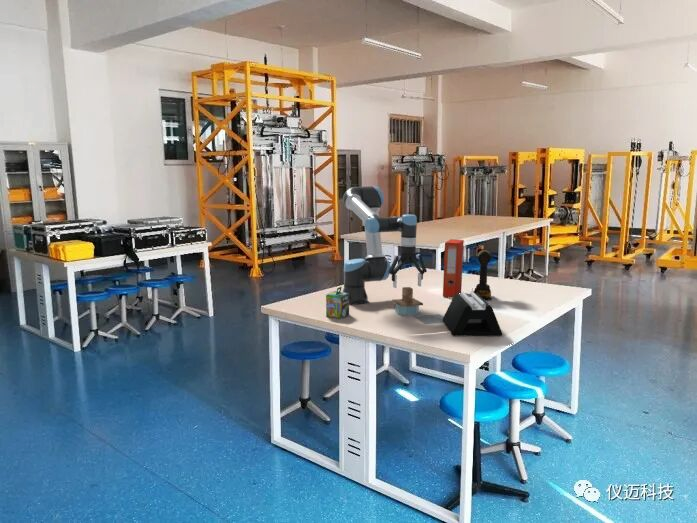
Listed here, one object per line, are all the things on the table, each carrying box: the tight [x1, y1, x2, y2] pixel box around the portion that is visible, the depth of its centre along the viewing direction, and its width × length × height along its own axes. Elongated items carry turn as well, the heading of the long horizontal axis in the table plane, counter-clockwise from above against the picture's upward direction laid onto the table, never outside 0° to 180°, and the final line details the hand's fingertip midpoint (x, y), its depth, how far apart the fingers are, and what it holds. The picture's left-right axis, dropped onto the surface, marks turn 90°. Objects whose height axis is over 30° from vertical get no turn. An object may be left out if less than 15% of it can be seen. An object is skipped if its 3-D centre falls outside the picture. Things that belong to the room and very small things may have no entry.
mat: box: [411, 313, 445, 325], centre depth 278 cm, size 15×15×1 cm
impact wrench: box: [472, 249, 492, 300], centre depth 328 cm, size 14×21×28 cm, turn 165°
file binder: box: [442, 238, 465, 298], centre depth 332 cm, size 8×17×32 cm, turn 159°
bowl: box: [395, 304, 420, 316], centre depth 289 cm, size 11×11×6 cm
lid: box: [391, 286, 424, 307], centre depth 288 cm, size 12×12×8 cm
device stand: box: [442, 290, 503, 337], centre depth 260 cm, size 22×22×15 cm
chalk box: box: [325, 286, 350, 319], centre depth 285 cm, size 9×9×15 cm
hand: (407, 286), depth 288 cm, fingers open, 13 cm apart
